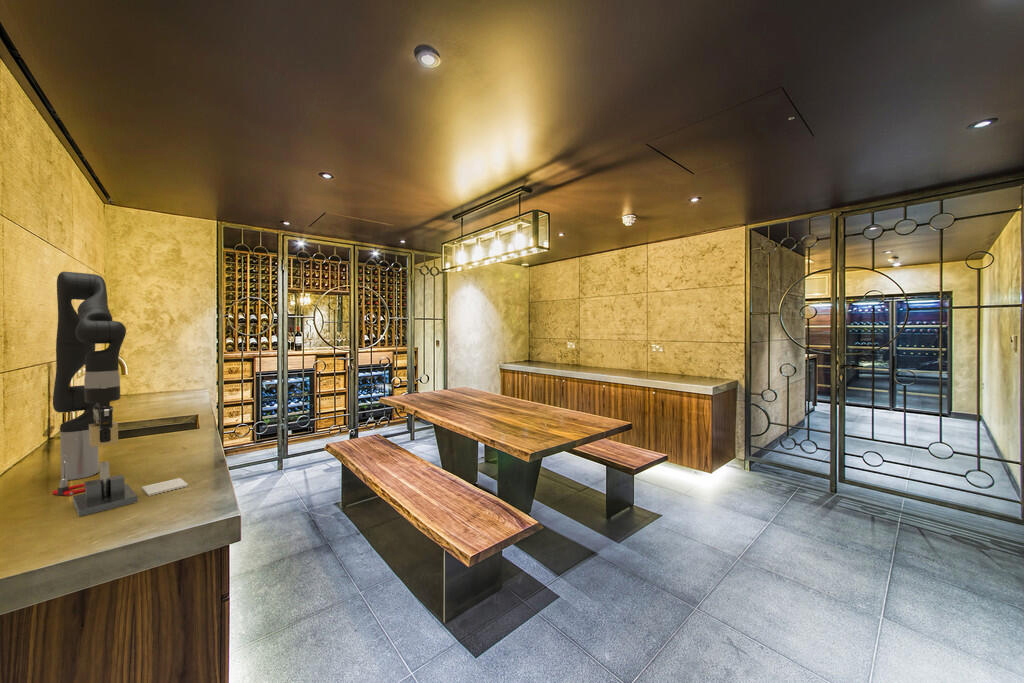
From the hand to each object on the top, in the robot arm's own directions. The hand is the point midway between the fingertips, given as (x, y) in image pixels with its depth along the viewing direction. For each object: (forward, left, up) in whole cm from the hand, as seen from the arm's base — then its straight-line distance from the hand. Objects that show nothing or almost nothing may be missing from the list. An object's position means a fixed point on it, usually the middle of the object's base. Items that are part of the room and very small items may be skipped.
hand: (103, 439), depth 119 cm
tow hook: (-21, -4, -20) cm, 29 cm away
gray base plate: (0, 0, -19) cm, 19 cm away
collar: (0, 0, -1) cm, 1 cm away
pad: (0, +14, -19) cm, 24 cm away
